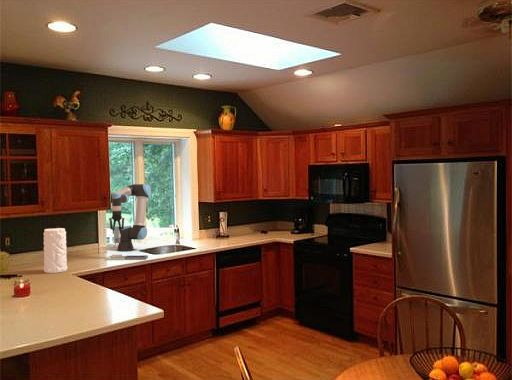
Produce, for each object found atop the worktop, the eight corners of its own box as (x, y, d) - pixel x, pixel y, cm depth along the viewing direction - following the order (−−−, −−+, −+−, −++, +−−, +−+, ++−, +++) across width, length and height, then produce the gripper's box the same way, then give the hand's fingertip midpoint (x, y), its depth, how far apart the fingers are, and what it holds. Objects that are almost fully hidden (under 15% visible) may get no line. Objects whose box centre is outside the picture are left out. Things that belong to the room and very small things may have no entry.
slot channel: (127, 259, 386) (126, 255, 386) (147, 259, 386) (147, 255, 386) (124, 261, 377) (124, 257, 377) (145, 261, 377) (145, 257, 377)
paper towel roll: (43, 274, 330) (42, 231, 328) (43, 270, 344) (42, 228, 343) (68, 272, 337) (67, 229, 336) (67, 267, 352) (66, 227, 350)
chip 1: (112, 259, 383) (112, 254, 383) (117, 259, 383) (117, 254, 383) (111, 260, 379) (111, 255, 379) (116, 260, 379) (116, 255, 379)
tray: (109, 259, 387) (109, 255, 386) (127, 259, 387) (127, 255, 387) (105, 261, 376) (105, 258, 375) (123, 261, 376) (123, 258, 376)
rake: (115, 242, 394) (115, 226, 393) (120, 242, 394) (120, 226, 393) (114, 243, 389) (113, 227, 389) (118, 243, 389) (118, 226, 389)
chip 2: (117, 259, 383) (117, 254, 383) (122, 259, 383) (122, 254, 383) (116, 260, 379) (115, 255, 379) (120, 260, 379) (120, 255, 379)
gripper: (105, 211, 387) (106, 238, 388) (125, 210, 387) (125, 237, 388) (108, 210, 394) (108, 236, 395) (127, 210, 394) (127, 236, 395)
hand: (117, 237), depth 391 cm, fingers closed on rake, 3 cm apart
